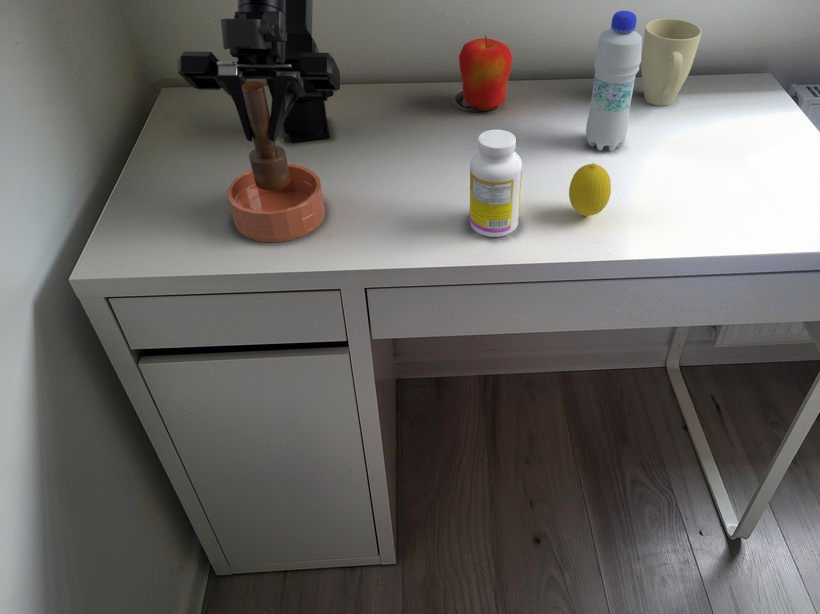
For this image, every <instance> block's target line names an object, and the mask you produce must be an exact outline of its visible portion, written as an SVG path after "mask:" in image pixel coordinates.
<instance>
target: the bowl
mask: <svg viewBox="0 0 820 614" xmlns="http://www.w3.org/2000/svg"><path fill="white" fill-rule="evenodd" d="M288 168H289V173H290V178H291V180H290V182H289V184H288V185H287V186H285V187H283V188H281V189H278V190H263V189H260V188H258V187H257V186H256V184H255V180H254V176H253V172H252V168H250V169H249V170H247V171H245V172H243V173H241V174H239V175H237V177H235V179H233V180H232V181H231V182H230V184H229V186H228V188H227V189H226V197H227V201H228V206H229V209H230V213H231V216H232V219H233V224H234V226H235V228H236V229H237V231H238V232H239V233H240V234H241V235H242V236H244V237H245V238H248V239H250V240H253V241H257V242H262V243H283V242H289V241H294V240H297V239H298V238H302V237H305V236H306V235H309V234H310V233H312V232H313V231H314V230H316V229H317V228H318V227H319V226H320V225H321V224H322V223H323V221H324V219H325V215H326V207H325V202H324V194H323V189H322V182H321V178H320V177H319V176H318V175H317V174H316V173H315V171H313V170H311V169H309V168H308V167H305V166H302V165H298V164H294V163H293V164H292V163H288Z"/></svg>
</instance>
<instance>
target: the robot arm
mask: <svg viewBox="0 0 820 614" xmlns="http://www.w3.org/2000/svg"><path fill="white" fill-rule="evenodd" d="M313 6H314V5H313V0H237V11H234V15H233V18H221V19H220V27H221V36H222V44H223V45H222V47H223V50H229V55H231V57H232V58H237V59H236V61H220V60H219V59H218V57H216V55H215V54H214V53H213V52H212V51H190V50H189V51H187V50H186V51H182V52H181V54H180V56H179V58H178V59H177V74H178V75H179V76H181V77H182V78H183V79H184V80H185V81H186V83H188V84H189V85H190V86H191V87H192V88H193V89H196V90H201V91H203V90H204V91H207V90H208V91H220V90H221V89H222V90H223V92H225V93H226V94H227V95H228V96H230V97H231V99H232V102H233V104H234V105H235V108H236V111H237V114H238V117H239V121H240V124H241V127H242V129H243V133H244V136H245V138H246V140H247V141H248V142H252V141H253V136H252V132H251V128H250V123H249V119H248V114H247V110H246V106H245V101H244V97H243V92H242V88H241V87H242V85H243V84H245V83H247V82H248V80H265V81H266V84H267V87H268V90H269V93H270V96H271V105H270V106H271V108H270V140H271V141H272V142H275V143H276V142H277V139H278V137H279V135H280V132H281V130H282V128H283V132H284V134H286V135H287V136H288V137H287V138H288V141H289V142H290V143H296V142H305V141H314V140H323V139H330V138H331V131H330V127H329V124H328V118H327V111H326V103H325V102H328V99H329V98H330V97H334V95H335V93H334V92H337V91H340V90H341V73H340V69H339V66H338V64H337V62H336V60H335V58H334V57H333V56H332V54H331V53H330V52H320V50H319V48H318V45H317V43H316V41H315V39H314V38H313Z"/></svg>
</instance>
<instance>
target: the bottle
mask: <svg viewBox="0 0 820 614" xmlns="http://www.w3.org/2000/svg"><path fill="white" fill-rule="evenodd" d="M636 27H637V16H636V14H635V13H634V12H632V11H631V10H630V11H629V10H619V11H617V12H615V13H613V16H612V18H611V24H610V28H608V29H606V30H604V31H602V32H601V34H600V35H599V39H598V41H597V47H596V49H595V53H594V55H593V56H594V63H593V68H594V78H593V85H592V91H591V92H592V93H591V100H590V107H589V111H588V116H587V121H586V128H585V133H586V134H585V135H586V141H587V144H588V145H589V146H590V147H595V146H596V149H597V150H598V151H603V150H604V147H605V146H608V151H610V152H611V151H614V150H615V149H616V148H620V147H621V146H623V144H624V142H625V140H626V137H627V133H628V127H629V118H630V109H631V104H632V98H633V94H634V93H633V92H634V87H635V82H636V81H635V80H636V77H637V76H636V75H637V74H638V72H639V71H640V66H641V65H640V64H641V61H642V51H643V37H642V36H641V34H640V33H639V32H637V31H636Z"/></svg>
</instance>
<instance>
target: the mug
mask: <svg viewBox="0 0 820 614" xmlns="http://www.w3.org/2000/svg"><path fill="white" fill-rule="evenodd" d="M702 33H703V30H702V28H701V27H700V26H699V25H697V24H696V23H694V22H691V21H687V20H685V19H684V20H683V19H678V18H658V19H653V20H650V21H648V22H647V23H646V24H645V26H644V35H643V41H642V50H641V62H640V64H641V65H640V67H641V80H642V81H641V82H642V87H643V89H642V90H643V96H644V100H645V102H646V103H648V104H650V105H652V106H656V107H666V106H670V105H672V104H673V103H674V101H675V99H676V97H677V96H678V94H679V92H680V91H681V89H682V87H683V85H684V83H685V82H686V80H687V78H688V76H689V74H690V71H691V69H692V66H693V63H694V60H695V57H696V54H697V50H698V46H699V44H700V40H701V38H702Z"/></svg>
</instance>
